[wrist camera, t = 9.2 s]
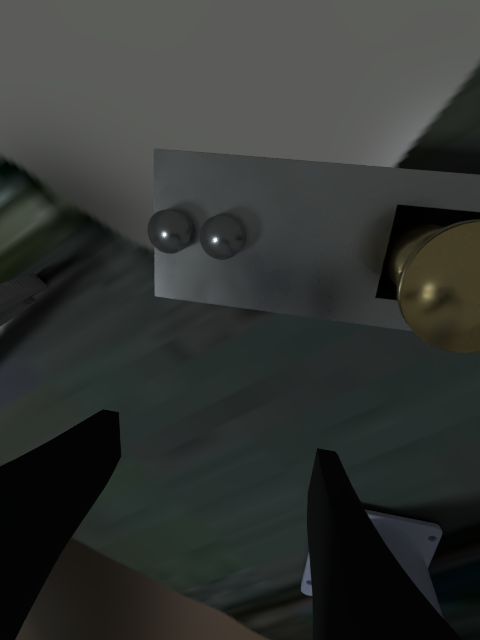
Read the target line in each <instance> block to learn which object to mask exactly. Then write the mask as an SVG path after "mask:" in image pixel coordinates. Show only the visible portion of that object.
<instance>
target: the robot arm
mask: <svg viewBox="0 0 480 640" xmlns="http://www.w3.org/2000/svg"><path fill="white" fill-rule="evenodd" d="M120 457H121V445H120V427H119V412H114V411H109V410H101V411H100V412H98V413H96V414H94V415H93V416H91V417H89V418H87V419H86V420H84V421H82V422H81V423H79V424H77V425H76V426H74V427H72V428H71V429H69V430H67V431H66V432H64V433H62V434H60V435H59V436H57V437H55V438H54V439H52V440H50V441H48V442H47V443H45V444H43V445H41V446H39V447H37V448H35V449H34V450H32V451H30V452H28V453H26V454H24V455H22V456H20V457H19V458H17V459H15V460H13V461H10V462H8V463H6V464H4V465H2V466H0V640H15V639H16V637H17V635H18V633H19V631H20V629H21V627H22V625H23V623H24V621H25V619H26V617H27V615H28V613H29V611H30V609H31V607H32V606H33V604H34V602H35V600H36V598H37V596H38V594H39V592H40V590H41V588H42V586H43V585H44V583H45V581H46V579H47V577H48V575H49V574H50V572H51V570H52V568H53V567H54V565H55V563H56V561H57V559H58V558H59V556H60V554H61V552H62V551H63V549H64V548H65V546H66V544H67V543H68V541H69V540H70V538H71V537H72V535H73V534H74V532H75V531H76V529H77V528H78V526H79V525H80V523H81V522H82V520H83V519H84V517H85V516H86V515H87V513H88V512H89V510H90V509H91V507H92V506H93V504H94V503H95V501H96V500H97V498H98V497H99V495H100V494H101V492H102V491H103V489H104V488H105V486H106V484H107V483H108V481H109V479H110V477H111V475H112V474H113V472H114V470H115V468H116V466H117V464H118V462H119V459H120ZM307 531H308V545H309V553H308V557H307V562H306V566H305V570H304V575H303V579H302V583H301V591H302V592H303V593H304V594H306V595H310V596H312V598H313V640H462V639H461V638H460V636H459V635H458V634H457V633H456V632H455V631H454V630H453V629H452V628H451V627H450V625H449V624H448V623H447V622H446V621H445V620H444V619H443V616H442V613H441V609H440V606H439V603H438V600H437V597H436V594H435V591H434V588H433V585H432V582H431V578H430V575H429V572H428V567H429V564H430V562H431V560H432V557H433V555H434V553H435V550H436V548H437V546H438V543H439V541H440V538H441V536H442V530H441V528H440V526H439V525H438V524H435V523H430V522H425V521H420V520H415V519H410V518H405V517H400V516H395V515H390V514H385V513H380V512H375V511H370V510H365V509H364V507H363V505H362V504H361V502H360V500H359V498H358V496H357V494H356V492H355V491H354V489H353V487H352V485H351V483H350V481H349V478H348V476H347V474H346V472H345V470H344V468H343V466H342V463H341V461H340V459H339V456H338V454H337V453H336V452H335V451H329V450H324V449H318V448H317V452H316V457H315V462H314V466H313V471H312V476H311V481H310V486H309V490H308V506H307Z"/></svg>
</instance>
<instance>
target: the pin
mask: <svg viewBox="0 0 480 640" xmlns="http://www.w3.org/2000/svg"><path fill="white" fill-rule="evenodd" d="M382 270H383V271H384V273H385V274H386V275H387V276H388V277H389V278H390V280H391V281H392V282H393V283H394V284H395V285H396V286H397V302H398V307H399V310H400V312H401V315H402V316H403V318H404V320H405V321H406V323H407V324H408V325H409V327H410V328H411V329H412V331H413V332H414V333H415V334H416V335H417V336H418V337H419V338H420V339H422V340H423V341H425V342H426V343H428V344H430V345H432V346H434V347H436V348H439V349H442V350H446V351H450V352H458V353H470V352H479V351H480V219H478V220H467V221H462V222H458V223H455V224H451V225H449V226H447V227H442V226H439V225H435V224H432V223H428V222H424V221H411V222H407V223H404V224H402V225H399V226H398V227H396V228H395V229H393V230H392V231H391V233H390V237H389V242H388V246H387V250H386V254H385V258H384V263H383V267H382Z"/></svg>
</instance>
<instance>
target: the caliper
mask: <svg viewBox="0 0 480 640" xmlns="http://www.w3.org/2000/svg"><path fill="white" fill-rule="evenodd" d="M46 287H47V285H46V284H45V283H44V282H43V281H42V280H41V279H40V278H39V277H38V276H36V275H35V274H34V273H32V274H29V275H26V276H23V277H20V278H17V279H14V280H11V281H8V282H5V283H2V284H0V326H2V325H3V324H5V323H6V322H8V321H9V320H11V319H12V318H14V317H15V316H17V315H18V314H20V313H21V312H23V311H24V310H26V309H27V308H29V307H30V306H32V305H33V303H34V302H35V301H36V300H35V299H34V298H33V297H32V295H34V294H35V293H37V292H39V291H41V290H43V289H45V288H46Z"/></svg>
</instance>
